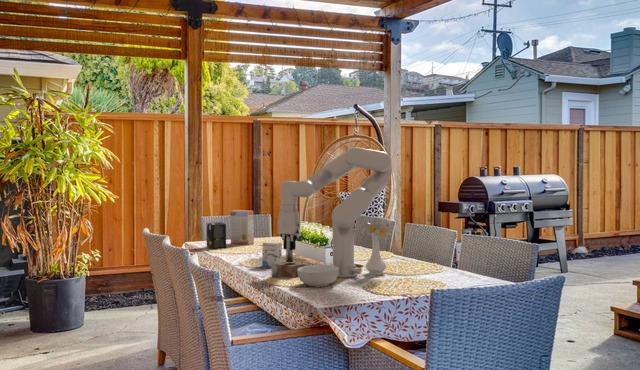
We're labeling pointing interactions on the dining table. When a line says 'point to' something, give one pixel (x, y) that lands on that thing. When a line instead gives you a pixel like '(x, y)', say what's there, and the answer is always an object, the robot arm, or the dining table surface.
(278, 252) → the ink box
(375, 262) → the flower vase
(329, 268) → the cereal bowl
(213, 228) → the tampon box
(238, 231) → the cracker box
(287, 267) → the walnut hole block
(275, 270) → the short steel pin
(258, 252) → the dining table surface
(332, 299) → the dining table surface
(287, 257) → the long steel pin
